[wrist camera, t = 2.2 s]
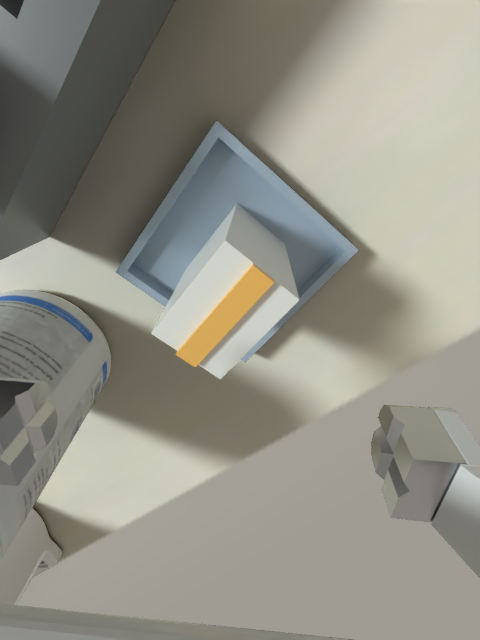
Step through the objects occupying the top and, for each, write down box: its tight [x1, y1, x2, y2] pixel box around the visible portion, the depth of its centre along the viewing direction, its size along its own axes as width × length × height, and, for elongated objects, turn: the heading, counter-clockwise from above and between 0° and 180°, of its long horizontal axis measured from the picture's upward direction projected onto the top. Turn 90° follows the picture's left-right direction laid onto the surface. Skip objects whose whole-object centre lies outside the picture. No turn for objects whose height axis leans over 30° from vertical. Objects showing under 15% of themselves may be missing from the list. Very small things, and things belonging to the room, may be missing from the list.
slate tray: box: [116, 121, 358, 362], centre depth 20 cm, size 10×10×2 cm
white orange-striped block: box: [151, 204, 299, 379], centre depth 17 cm, size 5×4×8 cm
